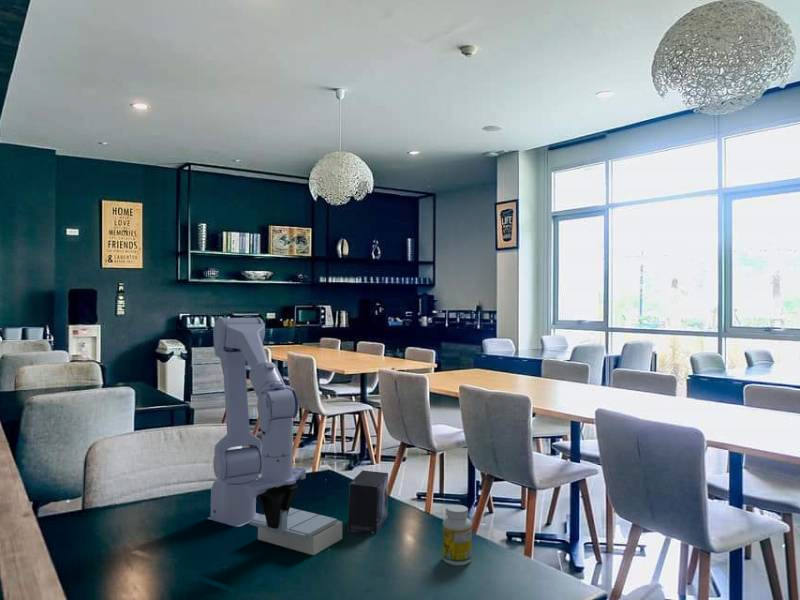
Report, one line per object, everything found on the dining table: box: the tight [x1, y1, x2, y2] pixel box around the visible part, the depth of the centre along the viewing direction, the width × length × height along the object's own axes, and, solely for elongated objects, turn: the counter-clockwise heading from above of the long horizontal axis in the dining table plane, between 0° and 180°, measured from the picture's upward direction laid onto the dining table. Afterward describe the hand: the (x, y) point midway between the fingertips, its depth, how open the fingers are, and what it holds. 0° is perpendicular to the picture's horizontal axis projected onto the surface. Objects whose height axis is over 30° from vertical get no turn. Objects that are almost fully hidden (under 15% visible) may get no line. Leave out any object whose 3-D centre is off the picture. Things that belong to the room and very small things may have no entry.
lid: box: [249, 507, 338, 539], centre depth 116 cm, size 14×10×4 cm
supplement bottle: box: [442, 504, 473, 567], centre depth 110 cm, size 5×5×10 cm
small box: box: [347, 470, 389, 535], centre depth 126 cm, size 11×6×10 cm, turn 168°
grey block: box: [257, 519, 343, 556], centre depth 118 cm, size 14×9×4 cm, turn 59°
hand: (276, 525), depth 112 cm, fingers closed on lid
